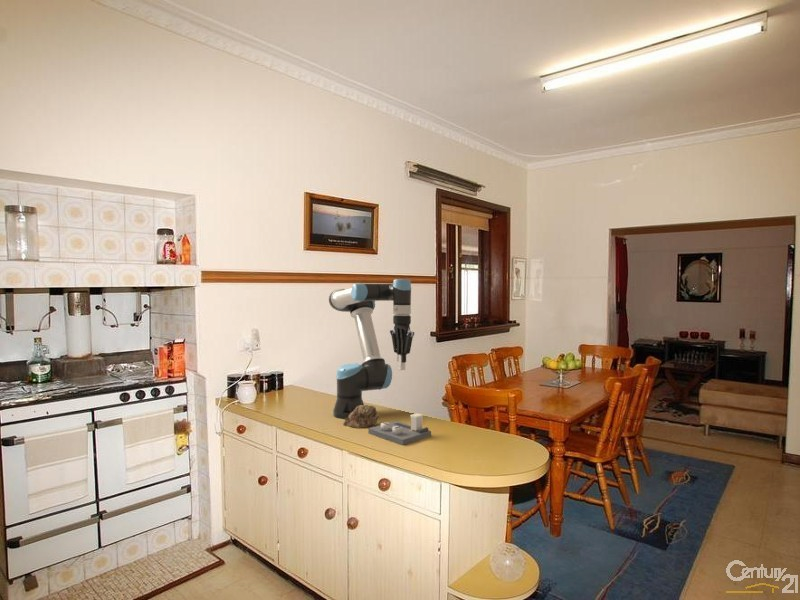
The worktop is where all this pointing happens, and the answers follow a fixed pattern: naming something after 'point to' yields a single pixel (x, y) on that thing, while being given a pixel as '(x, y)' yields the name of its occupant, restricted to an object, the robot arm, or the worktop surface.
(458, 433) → the worktop surface
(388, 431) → the console
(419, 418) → the fader tab
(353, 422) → the rock
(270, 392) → the worktop surface
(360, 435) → the worktop surface
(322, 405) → the worktop surface
